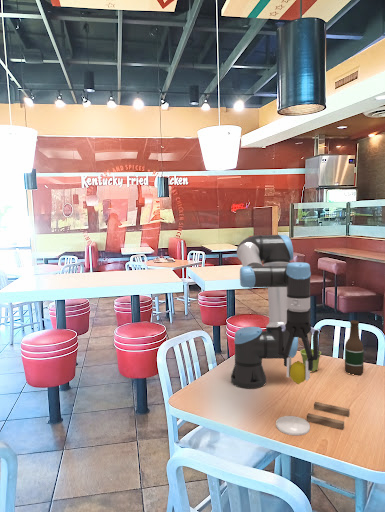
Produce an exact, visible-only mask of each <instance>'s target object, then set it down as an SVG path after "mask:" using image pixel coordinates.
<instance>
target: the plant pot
mask: <svg viewBox="0 0 385 512" xmlns="http://www.w3.org/2000/svg"><path fill="white" fill-rule="evenodd" d="M311 351H312V355H313V348H311ZM299 353H300V355H301V359H302V363H303V364H304V365H305V367H306V360H307V359H308V358H307V355H306V351H305V348H303V349H300V350H299ZM321 355H322V351H320V350H319V357H318V359H317V360H313V369H312V370H310V371H315V370H317V369H318V370H319V361H320V357H321ZM315 372H316V371H315Z"/></svg>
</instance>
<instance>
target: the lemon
mask: <svg viewBox="0 0 385 512" xmlns="http://www.w3.org/2000/svg"><path fill="white" fill-rule="evenodd" d="M289 378H291V380H292V382H294V383H296V384H297V385H300V384H302V383H304V382H305V381H306V367H305V365H304V364H303V361H302V362H301V360H297V361H294V362H293V363H291V368H290V377H289Z"/></svg>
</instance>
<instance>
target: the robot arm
mask: <svg viewBox="0 0 385 512" xmlns="http://www.w3.org/2000/svg"><path fill="white" fill-rule="evenodd" d="M236 256H237V258H238V260H239V262H241V267H240V269H239V285H240V286H241V288H251V289H252V288H267V298H268V299H267V300H268V318H269V323H267V325H266V326H265V330H262V328H261V327H259V326H247V327H246V326H245V327H242V328H239V329H237V331H236V332H235V333H234V341H233V342H234V343H233V344H234V365H233V369H232V372H231V374H230V382H231V384H232V383H233V384H232V385H233V386H235V385H236V387H238V388H242V389H258V388H261V387H263V385H264V384H265V383H266V384H267V376H266V373H265V370H264V367H263V359H265V360H266V359H271V360H273V359H277V360H278V359H283V366H284V367H285V368H286V378H291V377H290V368H291V365H292V359H293V358H295V357H296V355H297V352H298V348H299V347H298V346H299V339H301V341H302V343H303V347H304V349H305V351H306V355H307V358H308V359H307V360H306V379H305V381H306V382H308V381H309V380H310V378H311V372H310V370H312V369H313V360H317V359H318V357H319V351H320V349H319V346H320V345H319V335H320V331H321V329H319V328H315V327H312V325H311V310H310V309H311V275H312V272H311V265H310V263H308V262H303V261H301V262H297V261H295V262H294V261H293V260H294V247H293V243H292V240H291V238H290V237H289V236H288V235H286V234H268V235H267V234H265V235H259V234H258V235H252V236H251V235H250V236H248V237H245V239H243V240H242V241H241V242H239V244H238V245H237V247H236ZM291 261H293V262H291ZM310 332H311V335H312V348H311V344H310V340H309V336H308V334H309V333H310ZM311 349H313V355H312V351H311ZM319 358H320V357H319ZM266 384H265V385H266ZM265 385H264V386H265Z"/></svg>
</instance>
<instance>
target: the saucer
mask: <svg viewBox="0 0 385 512" xmlns="http://www.w3.org/2000/svg"><path fill="white" fill-rule="evenodd" d="M275 427H276V429H277V430H278V431H279V432H281V433H283V434H285V435H288V436H304V435H306V434H308V433H309V432H310V429H311V425H310V422H308V421H307V419H305V418H303V417H300V416H294V415H284V416H281V417H279V418H277V420H276V421H275Z"/></svg>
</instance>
